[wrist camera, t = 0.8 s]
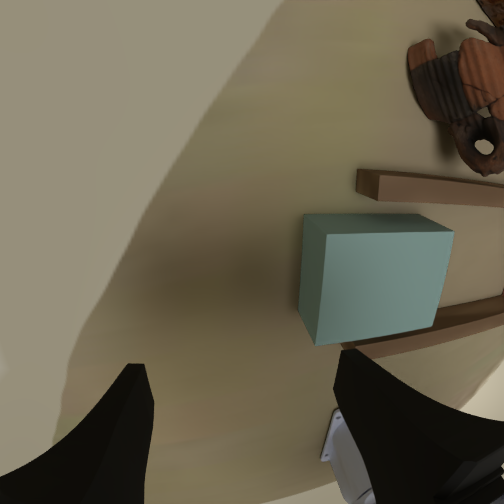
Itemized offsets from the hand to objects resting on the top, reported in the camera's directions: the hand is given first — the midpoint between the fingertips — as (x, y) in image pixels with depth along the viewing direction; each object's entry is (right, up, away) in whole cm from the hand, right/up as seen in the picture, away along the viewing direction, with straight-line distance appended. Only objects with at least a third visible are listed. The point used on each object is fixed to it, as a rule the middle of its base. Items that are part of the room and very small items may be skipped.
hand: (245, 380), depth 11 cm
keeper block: (+8, +4, +11) cm, 14 cm away
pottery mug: (+16, +17, +7) cm, 24 cm away
